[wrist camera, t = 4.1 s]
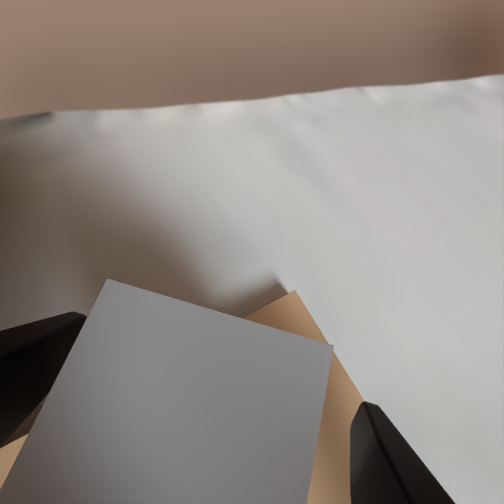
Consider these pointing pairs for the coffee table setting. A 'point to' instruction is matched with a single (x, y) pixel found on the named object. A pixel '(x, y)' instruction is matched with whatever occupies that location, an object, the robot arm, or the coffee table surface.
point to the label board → (333, 415)
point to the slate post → (175, 410)
